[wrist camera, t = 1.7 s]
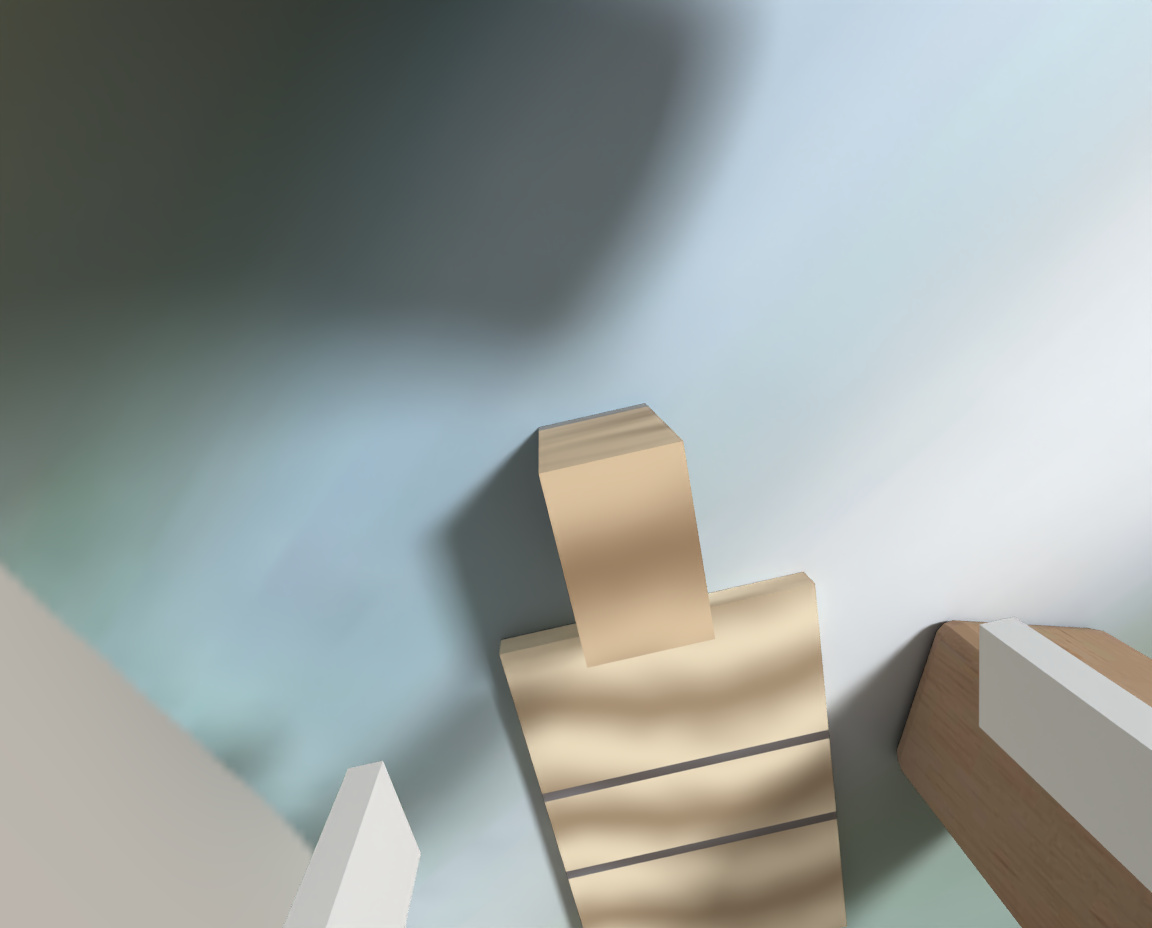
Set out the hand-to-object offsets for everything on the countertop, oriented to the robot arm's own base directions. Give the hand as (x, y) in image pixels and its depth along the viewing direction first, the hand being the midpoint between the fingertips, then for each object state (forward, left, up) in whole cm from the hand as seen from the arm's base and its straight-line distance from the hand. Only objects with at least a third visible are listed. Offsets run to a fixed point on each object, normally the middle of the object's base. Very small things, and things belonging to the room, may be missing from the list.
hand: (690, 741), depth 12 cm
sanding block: (0, 0, -15) cm, 15 cm away
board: (+19, +1, -15) cm, 24 cm away
